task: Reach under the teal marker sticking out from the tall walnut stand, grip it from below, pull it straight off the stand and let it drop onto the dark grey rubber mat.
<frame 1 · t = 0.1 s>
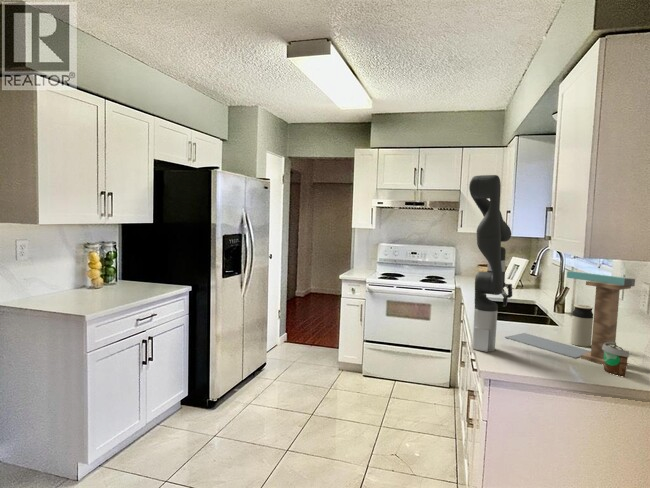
hand: (494, 304, 185), 17 cm above the countertop, tool pointing down, fingers open, 8 cm apart
grey mat: (547, 344, 184), on the countertop
travel mug: (580, 344, 187), on the countertop
walnut stand: (602, 360, 165), on the countertop
food container: (610, 371, 153), on the countertop
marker: (598, 281, 166), point 32 cm above the countertop, touching walnut stand
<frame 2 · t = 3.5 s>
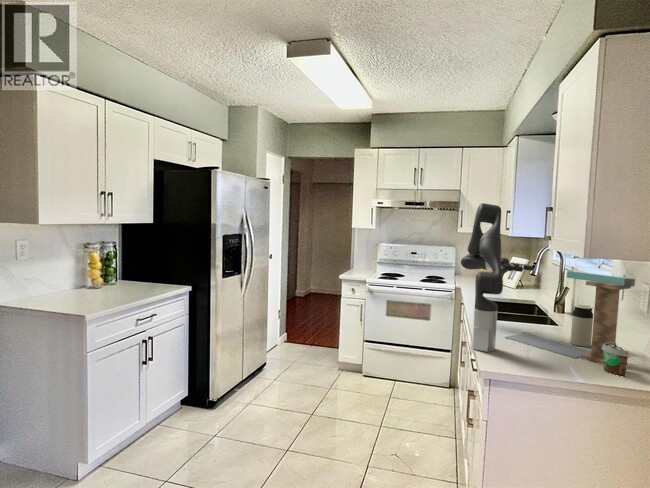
hand: (527, 269, 192), 33 cm above the countertop, tool horizontal, fingers open, 8 cm apart
nothing on the countertop moved.
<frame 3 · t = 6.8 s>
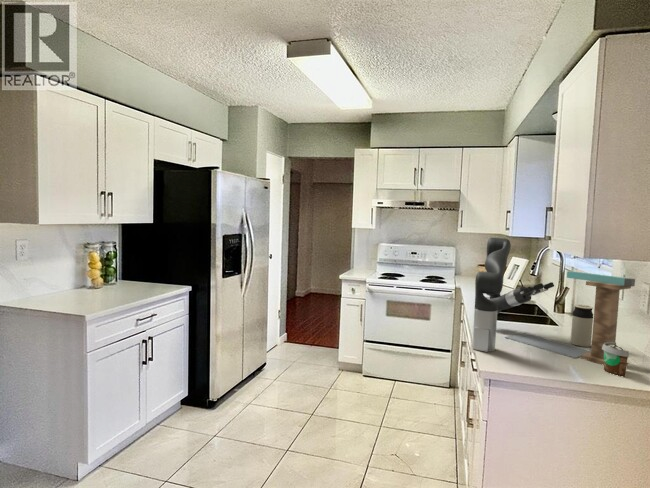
hand: (548, 284, 184), 27 cm above the countertop, tool pointing upward, fingers open, 8 cm apart
nothing on the countertop moved.
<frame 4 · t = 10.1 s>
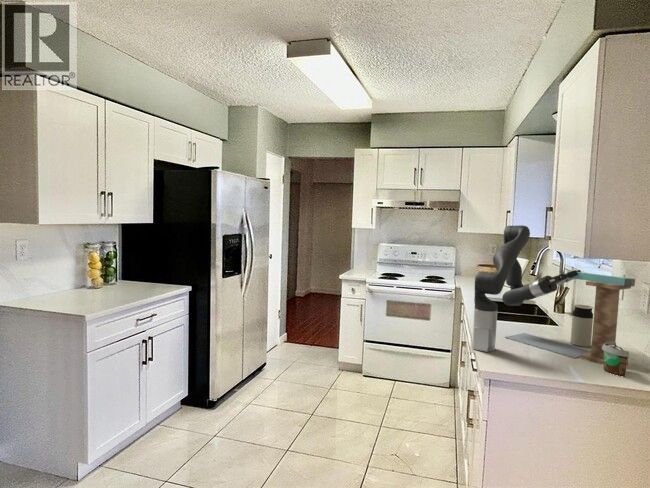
hand: (578, 272, 173), 35 cm above the countertop, tool pointing upward, fingers closed on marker, 2 cm apart
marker: (598, 281, 166), point 32 cm above the countertop, touching gripper, walnut stand
everything else where it was.
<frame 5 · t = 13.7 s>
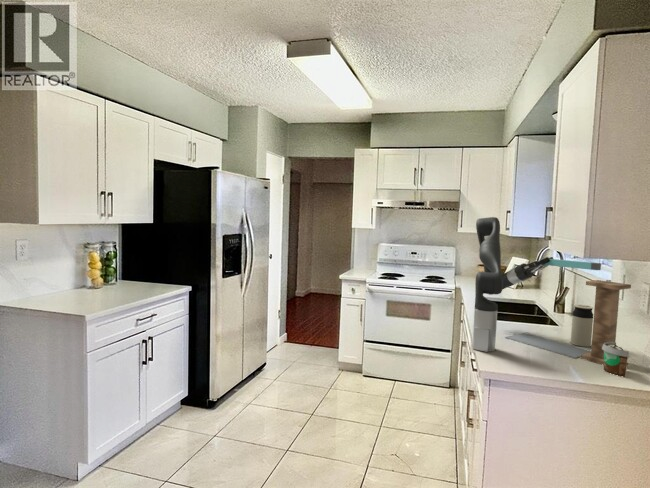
hand: (550, 259, 184), 39 cm above the countertop, tool pointing upward, fingers closed on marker, 2 cm apart
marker: (568, 267, 177), point 36 cm above the countertop, touching gripper
everything else where it was.
when the fingers open (26 cm above the countertop, at t = 17.6 s): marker drops 23 cm, resting on grey mat.
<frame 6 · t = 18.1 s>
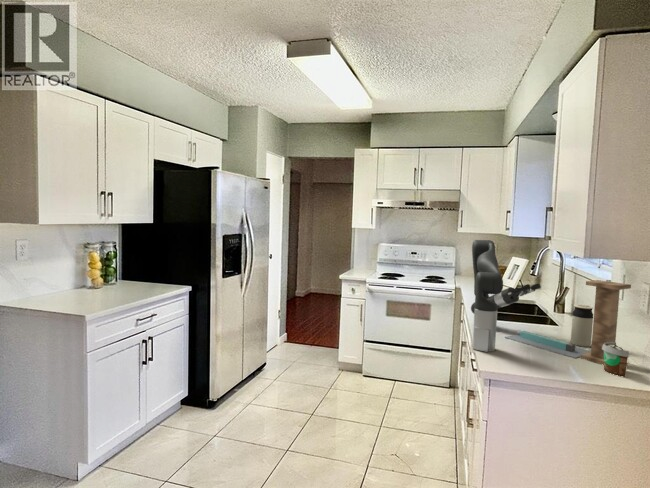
hand: (534, 285, 189), 26 cm above the countertop, tool pointing upward, fingers open, 8 cm apart
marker: (545, 343, 185), resting on grey mat
everything else where it was.
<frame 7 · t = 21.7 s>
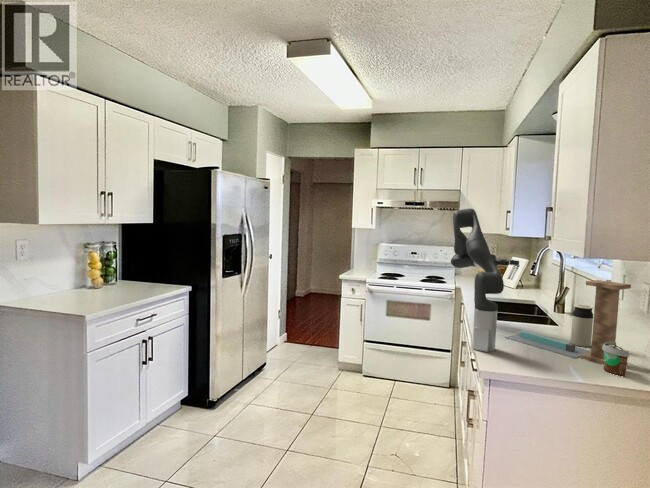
hand: (513, 263, 198), 35 cm above the countertop, tool horizontal, fingers open, 8 cm apart
nothing on the countertop moved.
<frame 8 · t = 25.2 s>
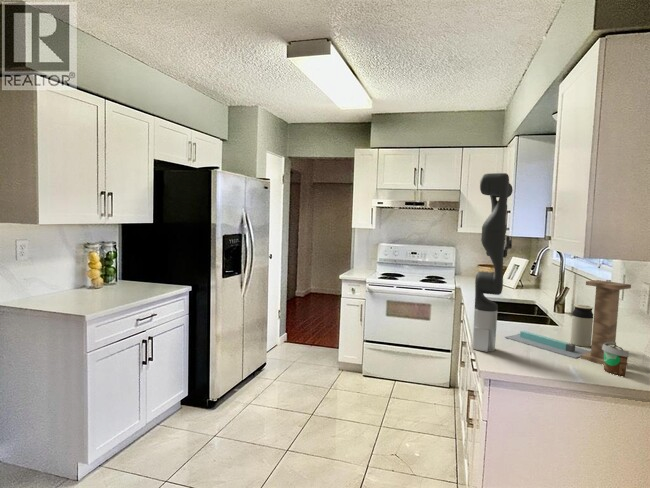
hand: (496, 256, 200), 38 cm above the countertop, tool pointing down, fingers open, 8 cm apart
nothing on the countertop moved.
at the end: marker 0.6 cm from the grey mat (horizontally); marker resting on grey mat; the gripper is holding nothing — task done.
